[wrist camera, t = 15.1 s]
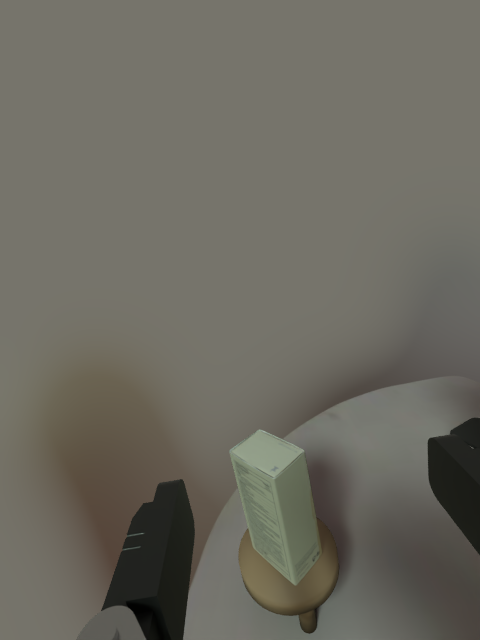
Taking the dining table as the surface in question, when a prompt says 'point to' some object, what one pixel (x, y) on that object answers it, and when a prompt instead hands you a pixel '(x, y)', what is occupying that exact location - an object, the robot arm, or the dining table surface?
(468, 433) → the phone
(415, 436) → the dining table surface
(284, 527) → the skincare box
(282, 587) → the stool
